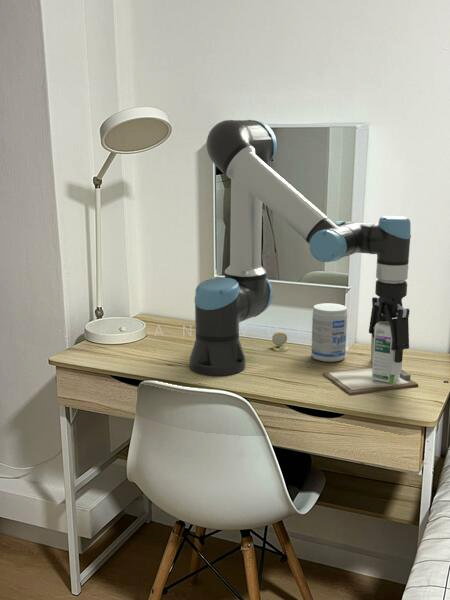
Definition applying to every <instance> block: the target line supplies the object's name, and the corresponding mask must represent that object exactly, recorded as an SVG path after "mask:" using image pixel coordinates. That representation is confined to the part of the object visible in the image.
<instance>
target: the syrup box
mask: <svg viewBox="0 0 450 600" xmlns="http://www.w3.org/2000/svg"><path fill="white" fill-rule="evenodd" d="M397 345H398V344H397ZM391 348H394V347H393V341H392V334H391V328H390V323H389V322H388V321H379V322H378V323H377V324H376V325H375V331H374V352H373V363H372V367H373V369H372V380H379V381H384V382H388V383H394V382H395V381H396V380H397V379H398V378H399V377H400V374H395V375H391V374H390V362H391Z"/></svg>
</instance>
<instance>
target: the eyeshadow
mask: <svg viewBox="0 0 450 600" xmlns="http://www.w3.org/2000/svg"><path fill="white" fill-rule="evenodd" d="M271 337H272V338H271V339H272V343H273V344H274V345H275V346H274V345H273V351H274V352H277V353H285V352H288V351H289V347H288V346H287V345H285V344H286V343H287V341H288V337H287V334H286V332H283V331H276V332H274V334H273V335H272V336H271Z"/></svg>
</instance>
